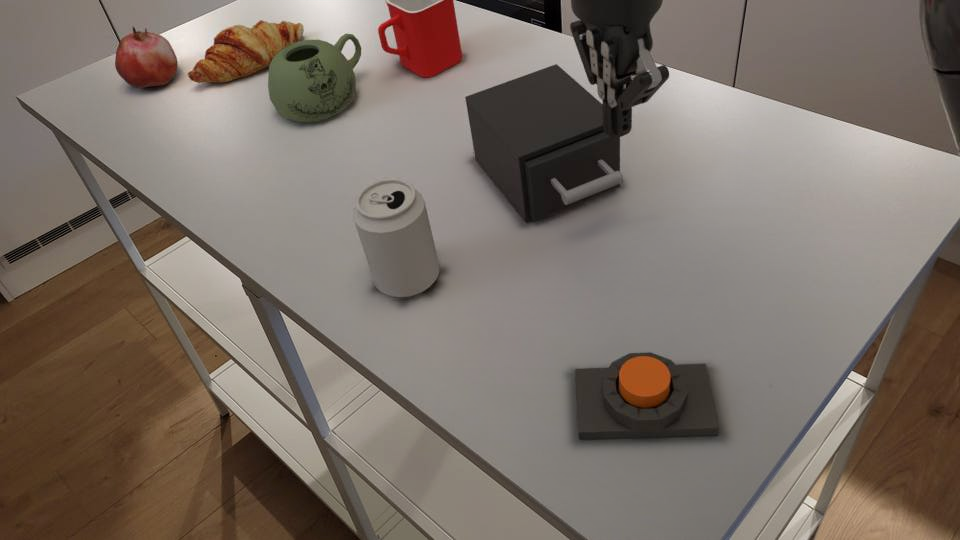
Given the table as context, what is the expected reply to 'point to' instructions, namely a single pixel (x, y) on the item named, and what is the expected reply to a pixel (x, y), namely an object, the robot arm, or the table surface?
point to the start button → (644, 382)
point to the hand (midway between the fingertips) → (617, 132)
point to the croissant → (244, 50)
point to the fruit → (145, 59)
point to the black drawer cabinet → (528, 126)
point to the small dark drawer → (572, 174)
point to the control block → (617, 418)
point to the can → (396, 237)
